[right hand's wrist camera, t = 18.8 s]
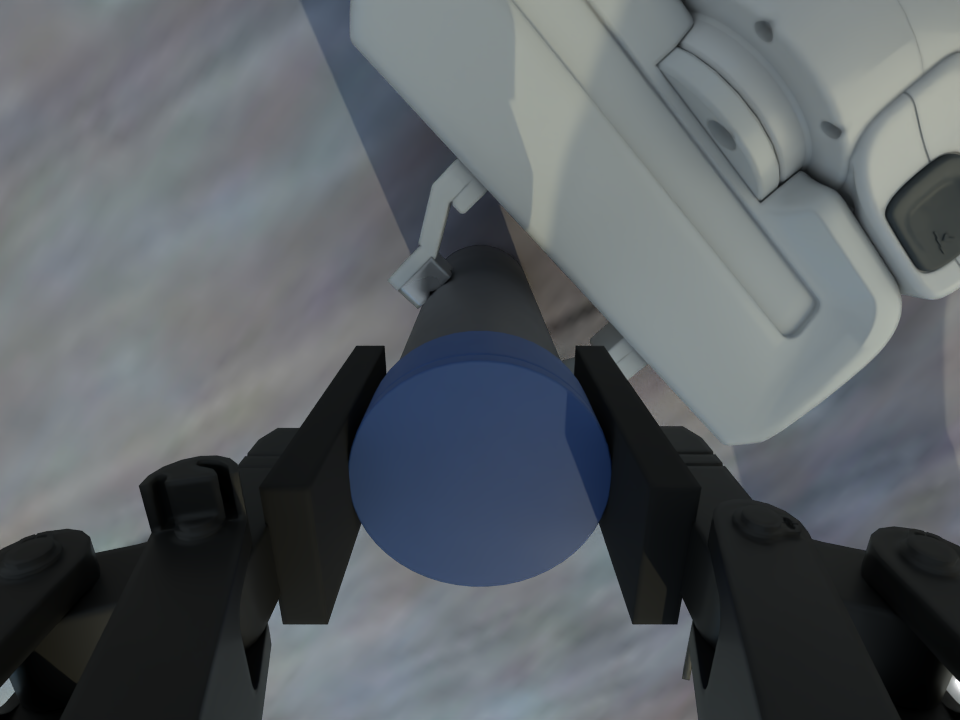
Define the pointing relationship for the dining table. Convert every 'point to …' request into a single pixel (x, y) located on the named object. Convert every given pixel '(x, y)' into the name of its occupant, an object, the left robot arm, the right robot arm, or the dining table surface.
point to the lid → (479, 461)
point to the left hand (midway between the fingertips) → (463, 349)
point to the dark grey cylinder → (481, 301)
